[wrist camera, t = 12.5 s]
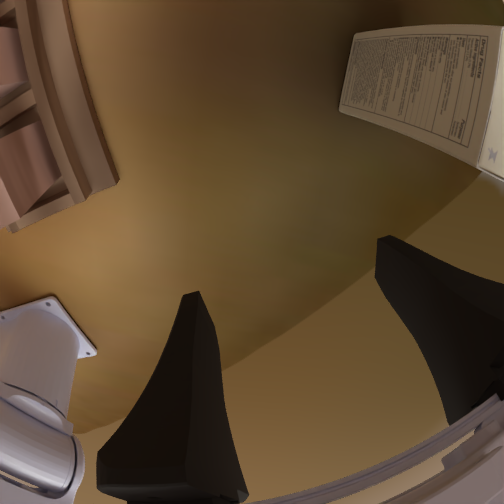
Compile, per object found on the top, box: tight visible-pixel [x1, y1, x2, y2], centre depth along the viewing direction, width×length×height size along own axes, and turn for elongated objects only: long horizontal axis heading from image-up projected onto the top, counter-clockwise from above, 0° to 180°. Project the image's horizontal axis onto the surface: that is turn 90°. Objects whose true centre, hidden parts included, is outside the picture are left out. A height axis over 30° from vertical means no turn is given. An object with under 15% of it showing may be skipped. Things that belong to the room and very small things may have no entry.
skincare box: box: [339, 24, 504, 182], centre depth 12 cm, size 6×4×12 cm
